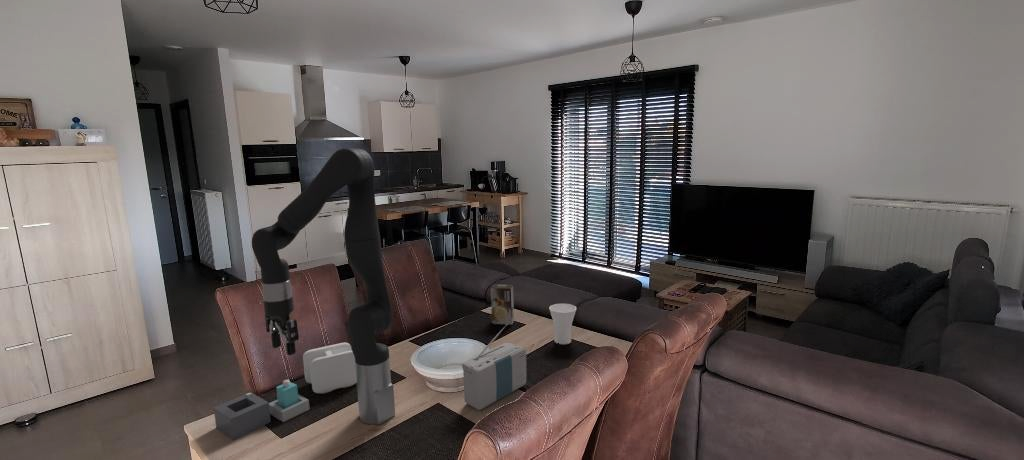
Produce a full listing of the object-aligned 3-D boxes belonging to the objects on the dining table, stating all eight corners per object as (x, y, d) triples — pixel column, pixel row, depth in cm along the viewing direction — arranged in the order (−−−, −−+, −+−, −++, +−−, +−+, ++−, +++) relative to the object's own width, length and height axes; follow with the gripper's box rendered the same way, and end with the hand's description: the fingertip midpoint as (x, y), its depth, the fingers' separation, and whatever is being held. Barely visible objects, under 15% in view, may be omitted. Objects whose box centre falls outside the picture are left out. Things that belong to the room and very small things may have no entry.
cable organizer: (310, 397, 147) (307, 362, 145) (305, 383, 156) (301, 350, 154) (360, 384, 155) (357, 350, 153) (352, 371, 164) (349, 339, 162)
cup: (580, 339, 188) (581, 306, 185) (569, 348, 179) (569, 314, 177) (556, 334, 193) (556, 301, 191) (544, 343, 185) (544, 309, 182)
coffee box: (514, 319, 210) (514, 284, 208) (512, 325, 204) (511, 288, 201) (494, 318, 212) (493, 283, 209) (491, 324, 206) (490, 287, 203)
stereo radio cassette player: (480, 414, 136) (477, 348, 133) (460, 404, 142) (458, 340, 139) (527, 387, 152) (527, 326, 148) (508, 378, 157) (507, 320, 154)
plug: (299, 410, 140) (296, 380, 139) (286, 416, 137) (283, 385, 135) (292, 406, 143) (288, 376, 141) (279, 412, 139) (275, 382, 138)
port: (270, 422, 134) (268, 401, 133) (233, 439, 126) (230, 418, 125) (253, 411, 140) (250, 391, 139) (216, 427, 132) (213, 406, 131)
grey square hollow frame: (309, 409, 141) (308, 399, 140) (283, 422, 134) (282, 412, 134) (294, 401, 145) (293, 392, 145) (268, 413, 139) (267, 403, 138)
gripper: (303, 297, 133) (309, 352, 136) (278, 289, 142) (284, 340, 145) (276, 304, 128) (283, 361, 130) (252, 295, 136) (259, 349, 139)
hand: (284, 350), depth 138 cm, fingers open, 8 cm apart
